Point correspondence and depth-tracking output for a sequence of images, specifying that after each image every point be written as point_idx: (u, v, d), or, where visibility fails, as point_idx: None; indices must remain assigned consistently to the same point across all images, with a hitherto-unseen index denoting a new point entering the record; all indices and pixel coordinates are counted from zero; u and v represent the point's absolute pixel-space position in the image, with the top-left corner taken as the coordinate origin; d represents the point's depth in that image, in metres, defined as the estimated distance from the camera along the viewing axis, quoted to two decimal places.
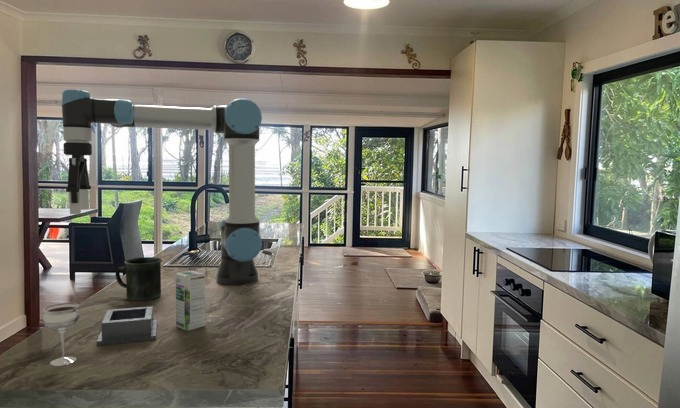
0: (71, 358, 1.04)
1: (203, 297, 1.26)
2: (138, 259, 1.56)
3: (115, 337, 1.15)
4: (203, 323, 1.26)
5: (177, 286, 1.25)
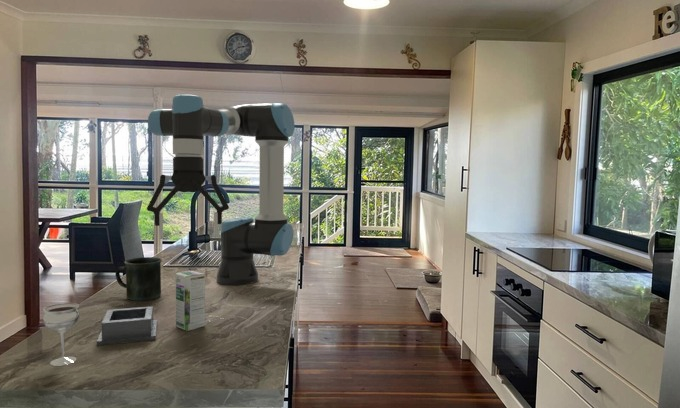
0: (71, 358, 1.04)
1: (203, 297, 1.26)
2: (138, 259, 1.56)
3: (115, 337, 1.15)
4: (203, 323, 1.26)
5: (177, 286, 1.25)
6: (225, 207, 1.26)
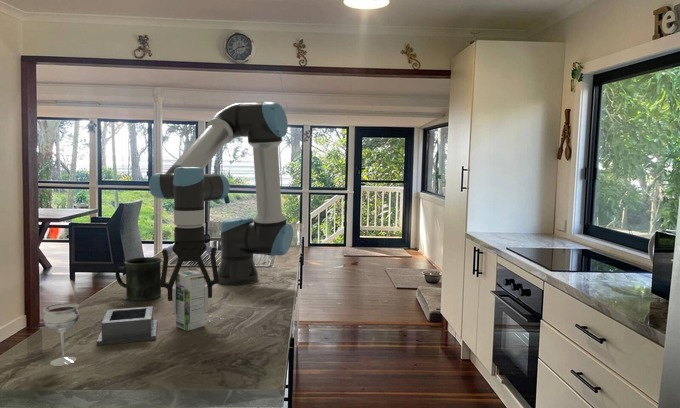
0: (71, 358, 1.04)
1: (203, 297, 1.26)
2: (138, 259, 1.56)
3: (115, 337, 1.15)
4: (203, 323, 1.26)
5: (177, 286, 1.25)
6: (215, 281, 1.27)
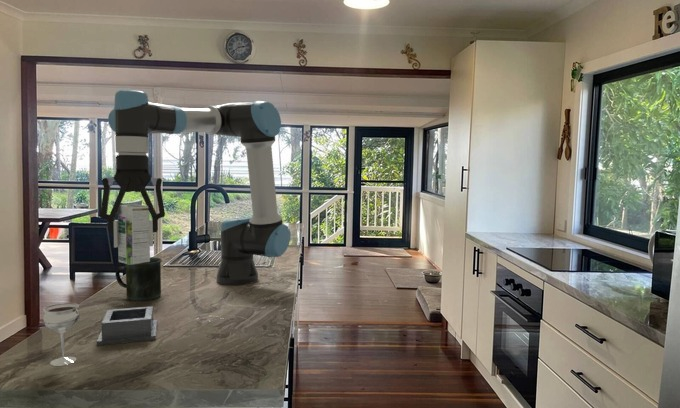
0: (71, 358, 1.04)
1: (147, 230, 1.19)
2: None
3: (115, 337, 1.15)
4: (147, 258, 1.19)
5: (119, 218, 1.18)
6: (161, 214, 1.20)
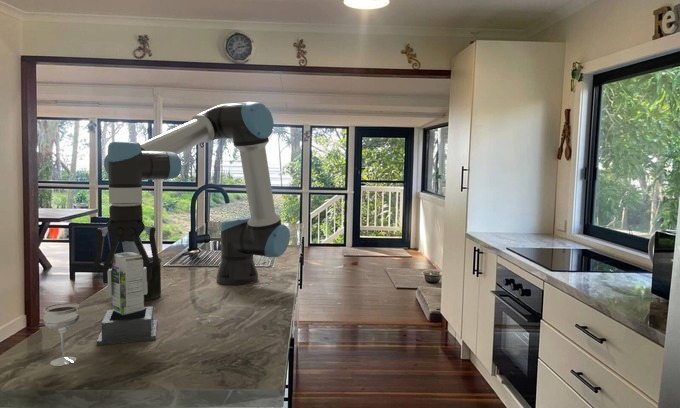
0: (71, 358, 1.04)
1: (141, 279, 1.19)
2: None
3: (115, 337, 1.15)
4: (141, 307, 1.20)
5: (113, 268, 1.18)
6: (155, 263, 1.20)
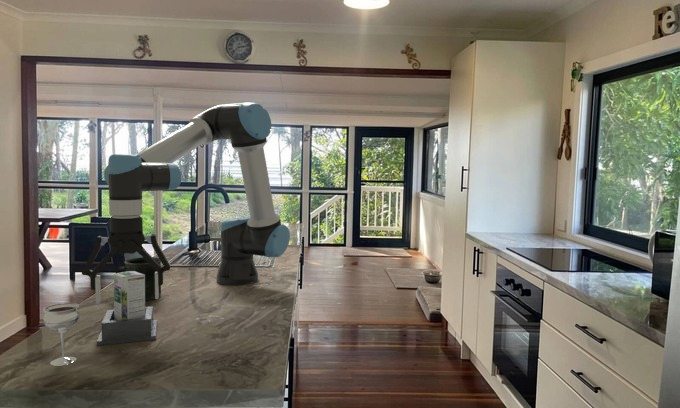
0: (71, 358, 1.04)
1: (143, 299, 1.20)
2: (138, 259, 1.56)
3: (115, 337, 1.15)
4: None
5: (115, 287, 1.19)
6: (166, 268, 1.21)
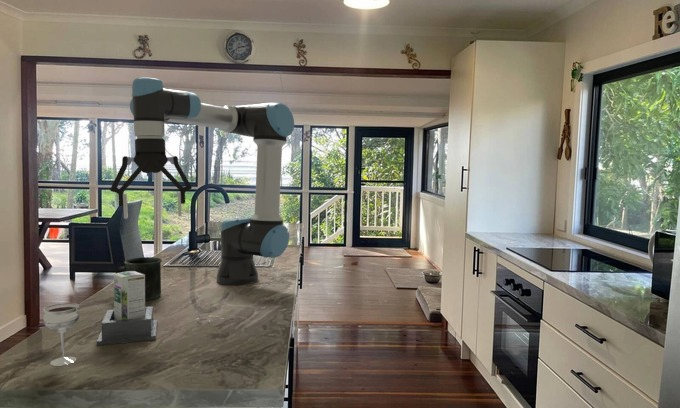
0: (71, 358, 1.04)
1: (143, 299, 1.20)
2: (138, 259, 1.56)
3: (115, 337, 1.15)
4: None
5: (115, 287, 1.19)
6: (188, 187, 1.30)
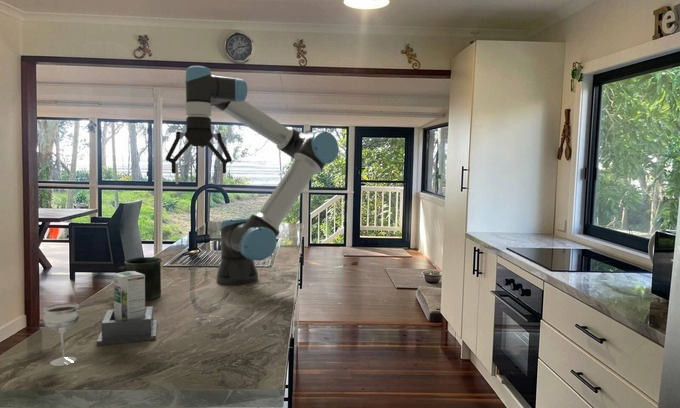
0: (71, 358, 1.04)
1: (143, 299, 1.20)
2: (138, 259, 1.56)
3: (115, 337, 1.15)
4: None
5: (115, 287, 1.19)
6: (229, 159, 1.53)
